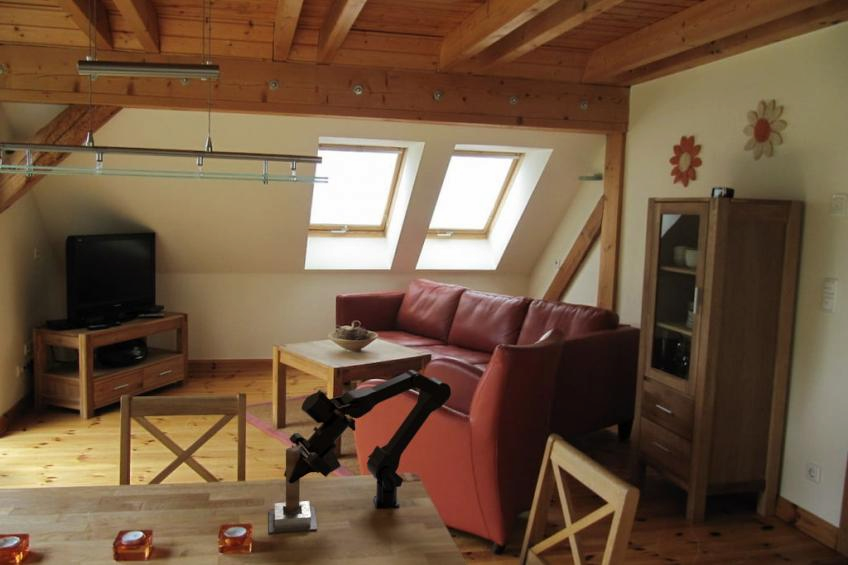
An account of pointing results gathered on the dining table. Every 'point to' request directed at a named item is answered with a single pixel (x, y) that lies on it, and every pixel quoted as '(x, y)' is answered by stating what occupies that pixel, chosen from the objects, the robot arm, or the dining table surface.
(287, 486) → the walnut peg
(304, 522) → the steel socket
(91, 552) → the dining table surface
